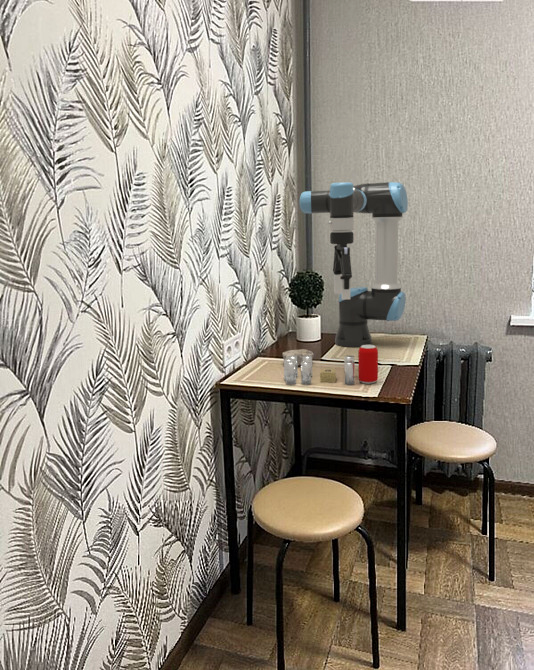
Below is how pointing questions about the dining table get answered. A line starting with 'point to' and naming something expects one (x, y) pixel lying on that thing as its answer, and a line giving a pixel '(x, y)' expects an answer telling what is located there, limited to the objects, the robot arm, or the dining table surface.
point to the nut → (328, 375)
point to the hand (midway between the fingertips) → (342, 296)
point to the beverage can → (368, 364)
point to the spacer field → (306, 370)
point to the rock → (298, 354)
